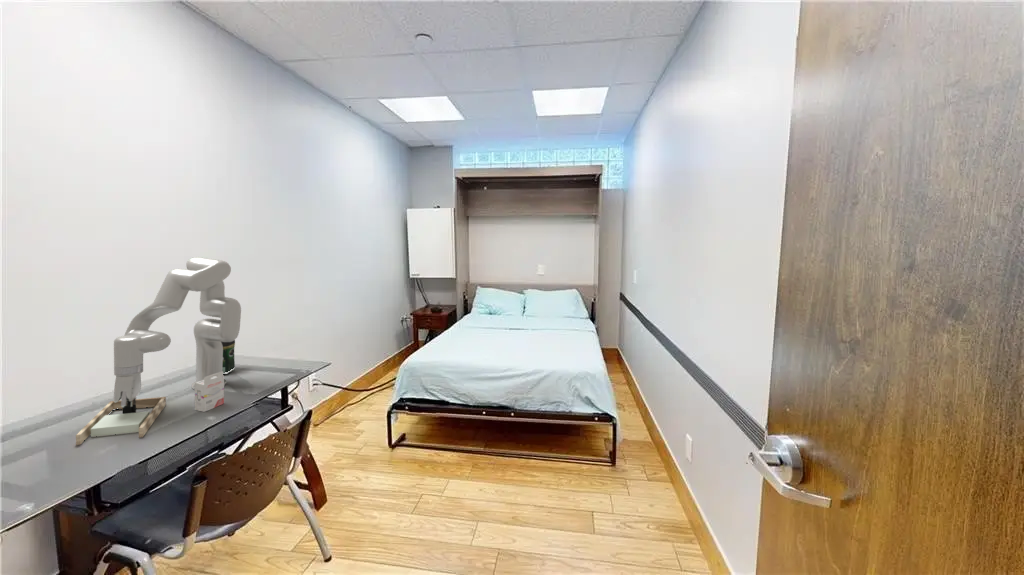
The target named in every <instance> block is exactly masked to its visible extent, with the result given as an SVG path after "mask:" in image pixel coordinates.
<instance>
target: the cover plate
mask: <svg viewBox="0 0 1024 575" xmlns="http://www.w3.org/2000/svg"><path fill="white" fill-rule="evenodd" d="M150 413H151V412H150V411H141V412H140V411H139V412H138V411H136V413H126V414H123V413H117V414H116V413H115V414H110V415H105V416H104V417H103V418H102V419H101V420H100V421H99V422H98V423H96V424H95V425H94V426H93V427H92V428H91V434H90V437H91V438H95V437H96V436H97V437H105V436H113V435H114V436H115V434H116V435H123V434H124V435H125V434H133V433H139V427H140V426H141V425H142V423H143V422H144V421H145V419H146V418H147V417H148V416H149V414H150Z"/></svg>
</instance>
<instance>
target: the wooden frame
mask: <svg viewBox="0 0 1024 575" xmlns="http://www.w3.org/2000/svg"><path fill="white" fill-rule="evenodd" d="M121 400H122V399H120V400H119V401H118V402H117V403H115V402H114V400H110V401H109V402H108V403H107V404H106V405H105V406H104V407H103V408H102V409H101V410H100V411H99V412H98V413H97V414H96V415H95V416H93V417H92V419H91V420H90V421H89V422H88V423H86V424H85V426H84V427H82V429H81V430H80V431H78V433H77V434H75V446H79V445H82V444H83V443H84V440H85V441H86V439H88V438H89V437H90V436H91V428H92V427H93V426H94V425H95V424H96V423H98V422H99V421H100V420H101V419H102V418H103V417H104V416H105V415H108V414H109V413H110V412H111V411H112V410H113V409H117V408H118V409H122V406H121ZM166 405H167V396H159V397H148V398H147V397H146V398H136V408H137V409H145V408H146V407H148V408H153V409H152V411H151V412H150V414H149V416H148V417H147V418H146V419H145V421H144V422H143V423H142V425H141V426H140V427H139V432H138V438H144V436H145V435H146V434H147V432H148V430H149V429H150V428H151V426H152V425H153V424H154V422H156V420H157V418H158V417H159V415H160V414H161V412H162V411H163V410H164V408H165V406H166ZM146 409H147V408H146ZM112 412H113V411H112Z"/></svg>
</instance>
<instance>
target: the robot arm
mask: <svg viewBox="0 0 1024 575" xmlns="http://www.w3.org/2000/svg"><path fill="white" fill-rule="evenodd" d="M185 267H186V268H185V269H184V268H174V269H171V270H170V271H168V272H167V274H166V275H165V278H164V280H163V282H162V284H161V286H160V289H159V290H158V293H157V294H156V297H155V298H154V301H153V302H152V303H151V304H150V305H147V306H146V307H145V308H144V309H142V310H141V311H140V312H138V313H137V314H136V315H135V316H134V317H133V318H132V319H131V321H130V323H129V324H128V327H127V328H126V330H125V333H124V335H122V336H117V337H116V338H115V339H114V340H113V373H114V374H113V376H115V380H114V392H113V401H114V402H115V403H117V402H118V401H120V400H121V406H122V410H121V411H122V414H126V413H137V409H136V399H137V396H138V395H140V393H141V391H142V373H143V372H144V354H148V353H149V354H150V353H157V352H160V351H163V350H166V349H167V348H168V347H169V345H171V342H172V340H171V337H170V336H169V335H168V334H167V333H164V332H161V331H154V330H149V329H150V327H151V326H152V324H153V323H154V322H155V321H156V320H158V319H159V318H161V317H163V316H166V315H168V314H172V313H175V312H178V311H180V310H181V309H182V307H183V305H184V303H185V300H186V298H187V296H188V293H189V292H200V295H199V312H200V313H201V314H202V315H203V316H207V317H212V318H202V319H200V320H198V321H197V322H196V323H195V325H194V326H193V335H194V339H195V348H196V352H195V353H196V354H195V355H196V356H195V381H193V382H191V389H193V390H195V383H196V382H199V381H202V380H204V377H207V376H210V375H213V374H216V373H219V372H222V366H223V346H222V343H221V342H232V341H234V340H235V341H236V339H237V338H238V337H239V333H240V328H241V318H242V306H241V304H240V302H239V301H238V300H237V299H236V298H233V297H229V296H228V297H227V296H225V288H226V287H225V282H224V280H226V279H227V278H228V277H229V276H230V274H231V272H232V267H231V265H230V264H229V263H228V262H227V261H225V260H222V259H221V260H220V259H214V258H208V257H199V256H198V257H197V256H196V257H192V258H189V259H188V260H187V261H186V266H185ZM217 318H220V319H217ZM213 377H214V376H213ZM225 385H227V380H226V379H225V378H224V386H225Z"/></svg>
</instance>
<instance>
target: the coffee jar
mask: <svg viewBox="0 0 1024 575" xmlns="http://www.w3.org/2000/svg"><path fill="white" fill-rule="evenodd" d="M221 343H222V346H223V366H222V371H223V373H225V372H228V371H230V370H231V369H233V368H234V367H235V368H236V363H235V362H236V361H235V346H236V339H235V340H234V341H232V342H221Z"/></svg>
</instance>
